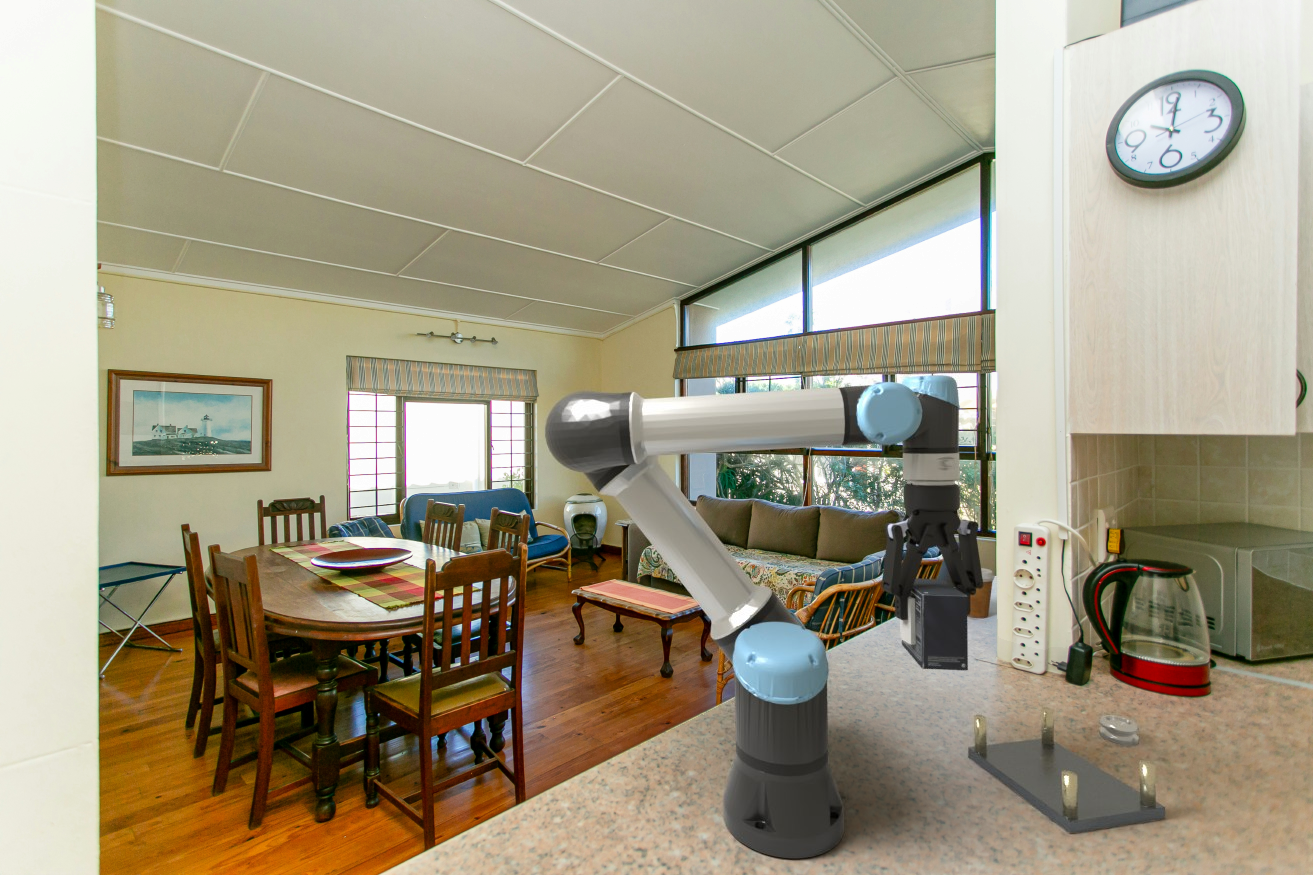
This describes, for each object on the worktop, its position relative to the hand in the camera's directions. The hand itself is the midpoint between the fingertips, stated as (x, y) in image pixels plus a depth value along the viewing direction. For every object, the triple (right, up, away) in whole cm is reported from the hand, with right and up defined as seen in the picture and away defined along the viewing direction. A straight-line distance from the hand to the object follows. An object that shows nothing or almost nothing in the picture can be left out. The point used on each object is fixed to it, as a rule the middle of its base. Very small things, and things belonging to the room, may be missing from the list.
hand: (933, 638), depth 88 cm
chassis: (+15, -19, -4) cm, 25 cm away
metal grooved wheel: (+33, -19, +8) cm, 39 cm away
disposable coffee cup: (+45, -19, +74) cm, 89 cm away
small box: (0, -3, 0) cm, 3 cm away
